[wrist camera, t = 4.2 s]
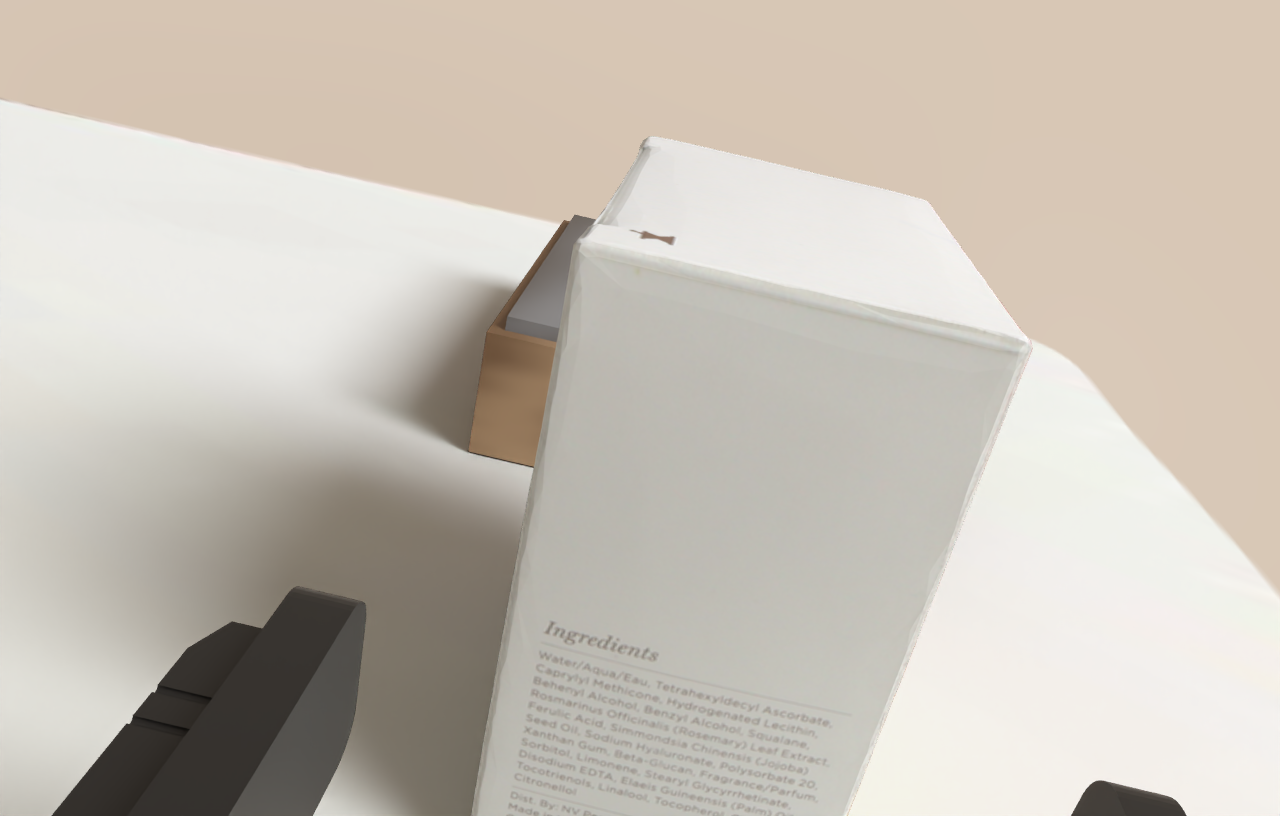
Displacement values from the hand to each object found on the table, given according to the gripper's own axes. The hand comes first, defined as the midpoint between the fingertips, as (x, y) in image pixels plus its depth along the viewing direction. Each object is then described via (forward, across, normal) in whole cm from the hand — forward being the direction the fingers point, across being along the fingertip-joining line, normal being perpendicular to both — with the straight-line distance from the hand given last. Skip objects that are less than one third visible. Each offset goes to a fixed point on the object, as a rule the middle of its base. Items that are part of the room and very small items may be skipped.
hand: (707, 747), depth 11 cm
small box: (+6, 0, +6) cm, 9 cm away
